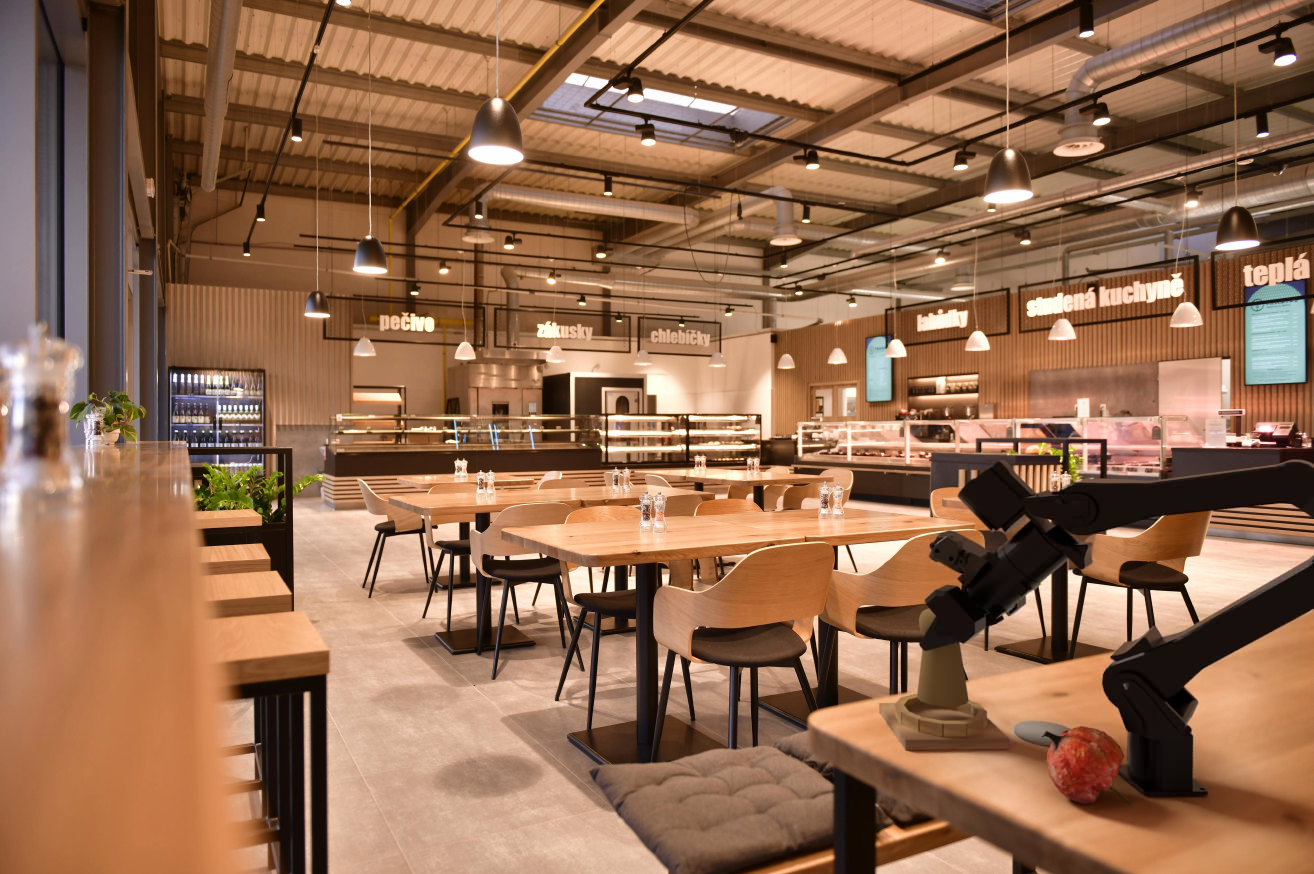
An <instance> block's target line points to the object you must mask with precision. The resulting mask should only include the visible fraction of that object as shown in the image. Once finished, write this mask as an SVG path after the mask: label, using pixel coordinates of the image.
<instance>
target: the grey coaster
mask: <svg viewBox="0 0 1314 874" xmlns="http://www.w3.org/2000/svg"><path fill="white" fill-rule="evenodd" d="M1070 729H1071V728H1070V727H1068V726H1066V725H1062V724H1059V723H1055V722H1049V721H1043V720H1026V721H1020V722H1018V723H1016V724H1015V725H1014V727H1013V731H1014V734H1015V735H1016V736H1017V737H1018V738H1019V739H1021V740H1024V741H1026V742H1027V743H1028V742H1029V743H1031V744H1035V745H1039V746H1045V747H1050V746H1051V744H1052V740H1051V739H1050V738H1049V737H1046V736H1044V737H1042V735H1043V734H1044V733H1045V732H1046V731H1048V732H1050V733H1053V734H1055V735H1057V736H1059V735H1060V734H1061V733H1062V732H1063V731H1066V730H1070Z"/></svg>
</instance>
